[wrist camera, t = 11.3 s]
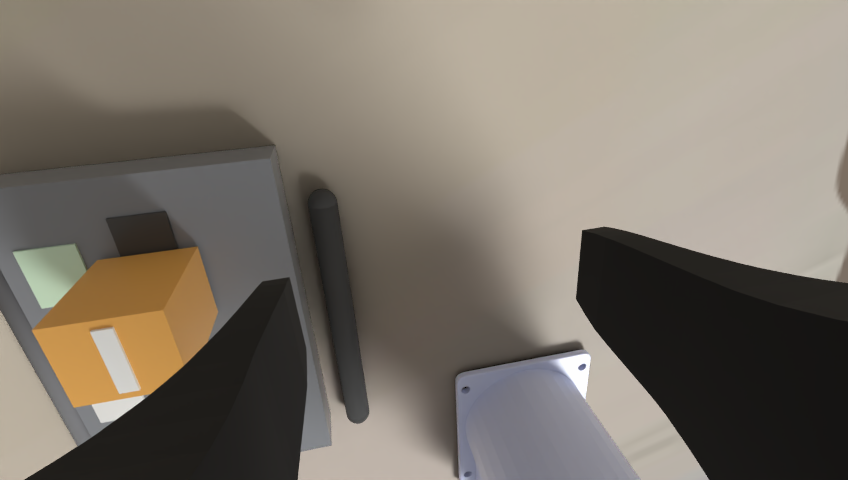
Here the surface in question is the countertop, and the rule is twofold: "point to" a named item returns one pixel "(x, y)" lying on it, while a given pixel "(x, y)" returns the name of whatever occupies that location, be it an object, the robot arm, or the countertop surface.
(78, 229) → the breaker panel
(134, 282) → the knob
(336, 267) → the dark grey rod
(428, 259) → the countertop surface
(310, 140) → the countertop surface
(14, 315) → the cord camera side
